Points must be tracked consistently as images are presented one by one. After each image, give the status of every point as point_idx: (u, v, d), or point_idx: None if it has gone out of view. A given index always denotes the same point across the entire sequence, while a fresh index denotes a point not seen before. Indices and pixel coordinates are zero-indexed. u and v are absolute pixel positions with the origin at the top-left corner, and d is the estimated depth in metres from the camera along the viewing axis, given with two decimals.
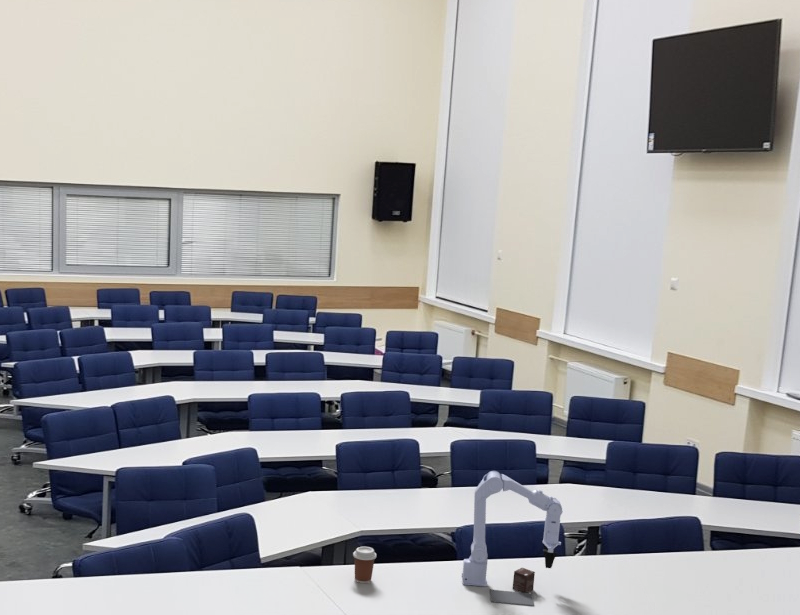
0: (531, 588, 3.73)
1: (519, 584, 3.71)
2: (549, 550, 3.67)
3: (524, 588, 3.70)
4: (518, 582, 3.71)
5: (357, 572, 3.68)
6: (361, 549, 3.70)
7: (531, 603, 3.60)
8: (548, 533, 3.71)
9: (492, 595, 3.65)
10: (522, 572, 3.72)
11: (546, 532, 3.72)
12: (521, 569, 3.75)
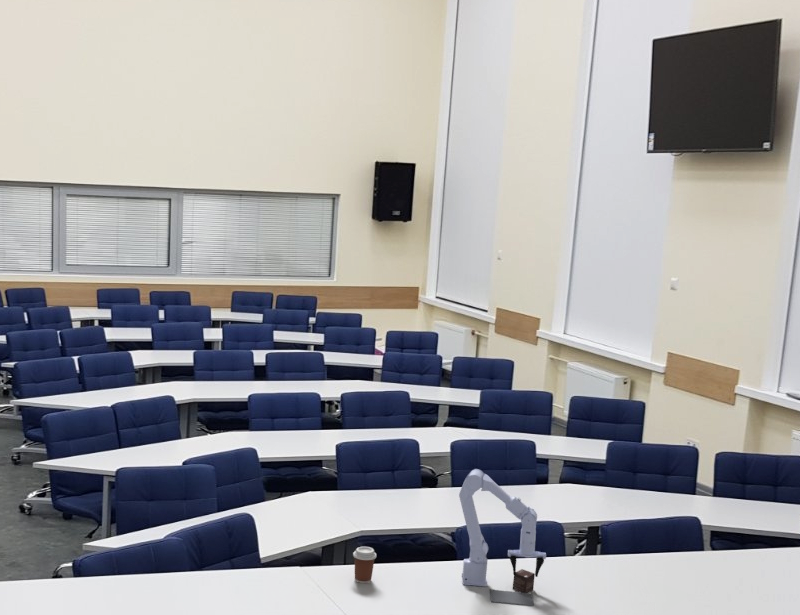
0: (531, 590, 3.73)
1: (519, 586, 3.71)
2: None
3: (524, 590, 3.70)
4: (518, 584, 3.72)
5: (357, 572, 3.68)
6: (361, 549, 3.70)
7: (531, 603, 3.60)
8: None
9: (492, 595, 3.65)
10: (522, 574, 3.72)
11: None
12: (521, 571, 3.75)
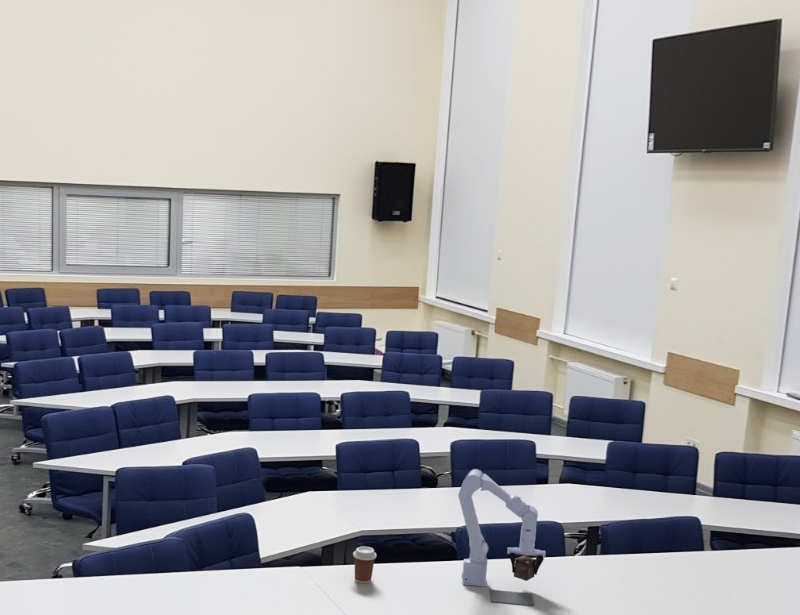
0: (532, 575, 3.72)
1: (521, 572, 3.70)
2: (507, 550, 3.73)
3: (526, 575, 3.69)
4: (519, 570, 3.71)
5: (357, 572, 3.68)
6: (361, 549, 3.70)
7: (531, 603, 3.60)
8: None
9: (492, 595, 3.65)
10: (524, 560, 3.71)
11: None
12: (522, 557, 3.74)
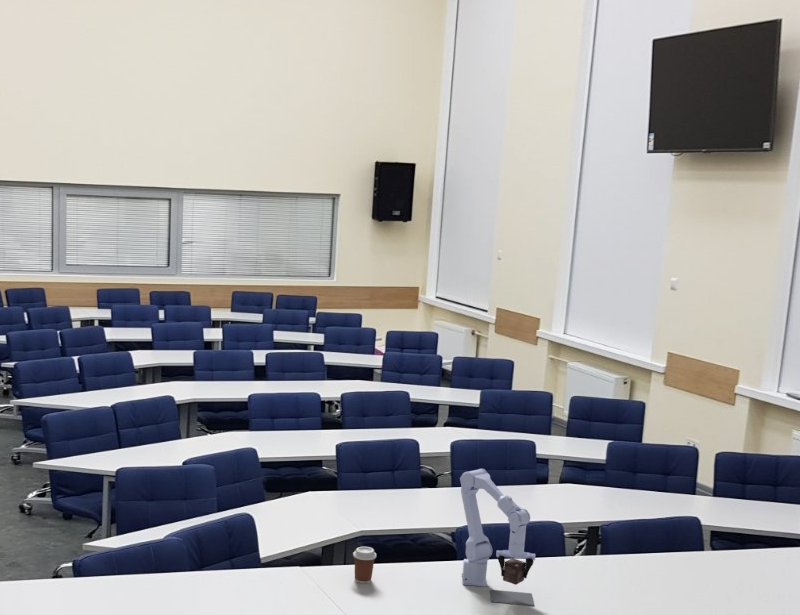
0: (522, 579, 3.63)
1: (510, 575, 3.61)
2: (496, 553, 3.63)
3: (515, 579, 3.60)
4: (508, 573, 3.61)
5: (357, 572, 3.68)
6: (361, 549, 3.70)
7: (531, 603, 3.60)
8: None
9: (492, 595, 3.65)
10: (513, 563, 3.62)
11: None
12: (511, 560, 3.65)
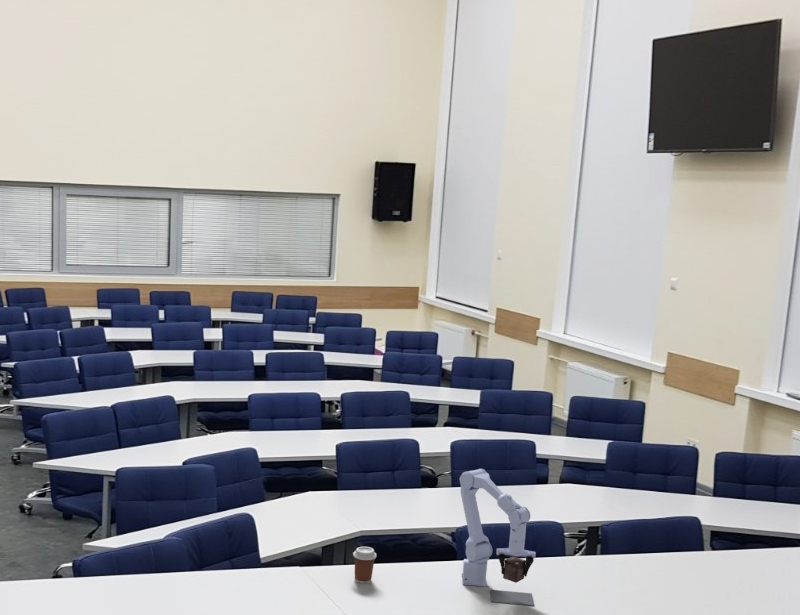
0: (522, 577, 3.63)
1: (510, 573, 3.61)
2: (496, 551, 3.63)
3: (515, 577, 3.60)
4: (508, 571, 3.61)
5: (357, 572, 3.68)
6: (361, 549, 3.70)
7: (531, 603, 3.60)
8: None
9: (492, 595, 3.65)
10: (513, 561, 3.62)
11: None
12: (512, 558, 3.65)
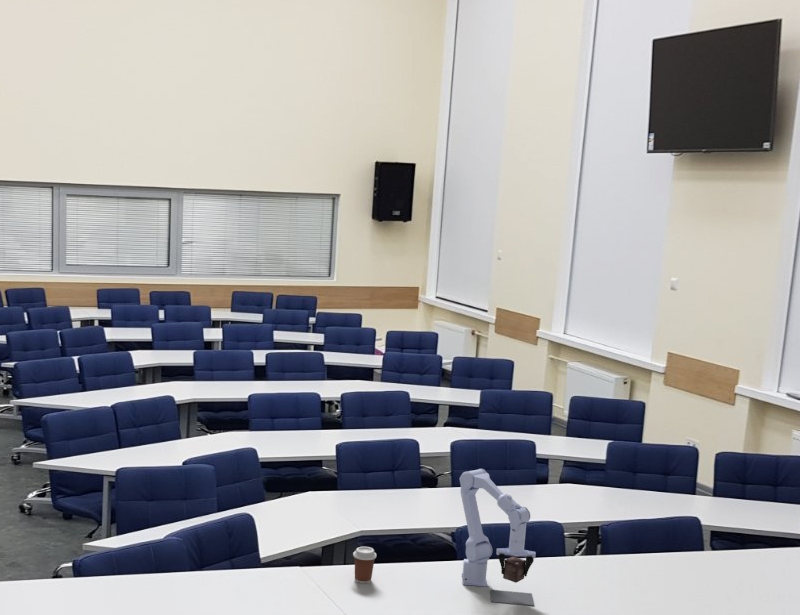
0: (522, 577, 3.63)
1: (510, 573, 3.61)
2: (496, 551, 3.63)
3: (515, 577, 3.60)
4: (508, 571, 3.61)
5: (357, 572, 3.68)
6: (361, 549, 3.70)
7: (531, 603, 3.60)
8: None
9: (492, 595, 3.65)
10: (513, 561, 3.62)
11: None
12: (512, 558, 3.65)
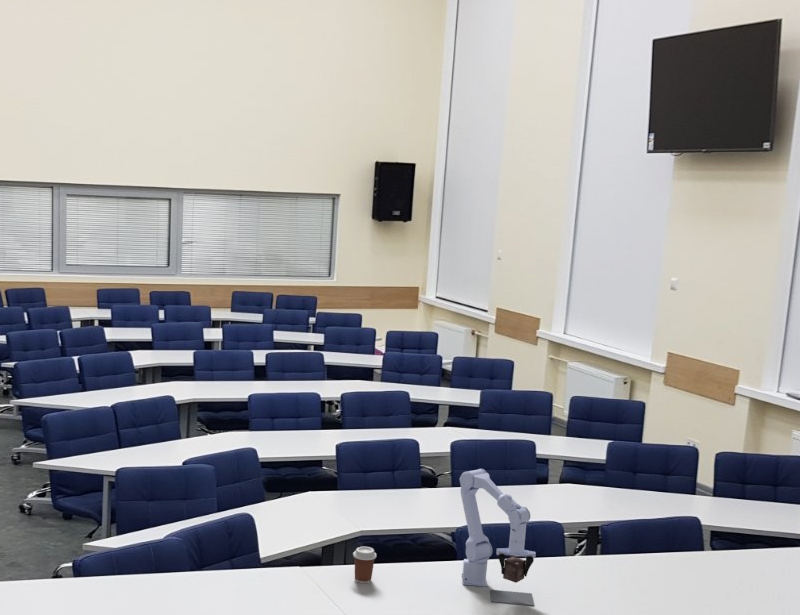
0: (522, 577, 3.63)
1: (510, 573, 3.61)
2: (496, 551, 3.63)
3: (515, 577, 3.60)
4: (508, 571, 3.61)
5: (357, 572, 3.68)
6: (361, 549, 3.70)
7: (531, 603, 3.60)
8: None
9: (492, 595, 3.65)
10: (513, 561, 3.62)
11: None
12: (512, 558, 3.65)
